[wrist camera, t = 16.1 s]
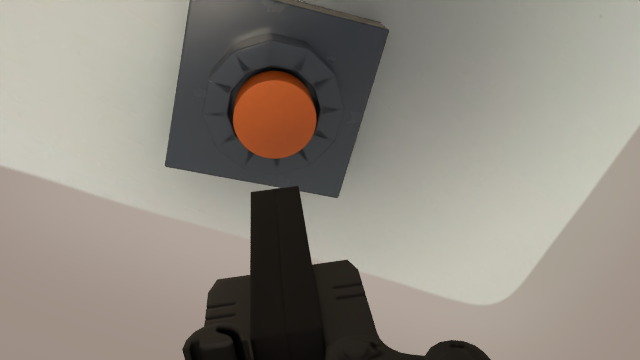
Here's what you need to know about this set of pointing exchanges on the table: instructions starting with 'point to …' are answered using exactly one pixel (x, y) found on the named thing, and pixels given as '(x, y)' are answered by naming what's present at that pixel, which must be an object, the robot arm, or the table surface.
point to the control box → (272, 55)
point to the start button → (274, 115)
